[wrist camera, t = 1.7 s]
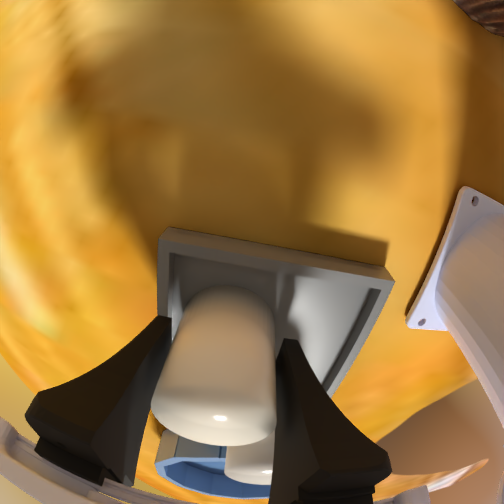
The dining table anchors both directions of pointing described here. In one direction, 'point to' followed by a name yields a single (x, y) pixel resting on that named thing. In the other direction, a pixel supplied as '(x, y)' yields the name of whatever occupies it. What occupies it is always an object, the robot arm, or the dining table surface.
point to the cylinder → (251, 461)
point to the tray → (280, 293)
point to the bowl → (201, 468)
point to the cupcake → (485, 13)
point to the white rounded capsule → (220, 370)
